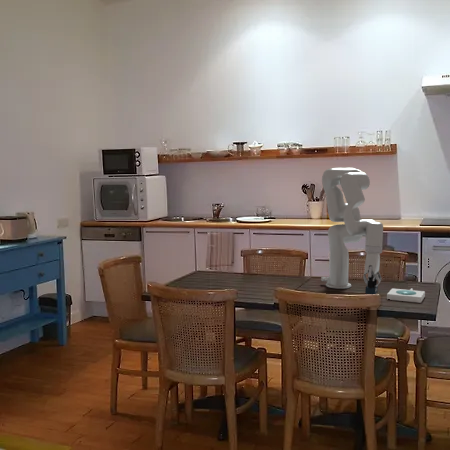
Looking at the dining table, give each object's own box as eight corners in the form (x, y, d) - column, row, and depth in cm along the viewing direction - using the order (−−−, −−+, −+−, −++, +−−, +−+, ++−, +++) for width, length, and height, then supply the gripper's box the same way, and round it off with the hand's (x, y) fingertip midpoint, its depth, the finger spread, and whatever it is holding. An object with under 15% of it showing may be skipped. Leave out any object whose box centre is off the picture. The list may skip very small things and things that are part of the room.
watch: (379, 295, 262) (380, 271, 260) (361, 293, 265) (362, 269, 264) (381, 292, 267) (383, 269, 265) (364, 290, 270) (365, 267, 269)
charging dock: (386, 299, 267) (387, 293, 267) (396, 288, 288) (396, 283, 288) (420, 302, 260) (421, 296, 260) (427, 291, 282) (428, 286, 281)
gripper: (369, 245, 272) (367, 283, 275) (361, 251, 257) (359, 291, 260) (385, 247, 269) (383, 285, 271) (378, 252, 254) (376, 293, 257)
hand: (371, 288), depth 266 cm, fingers closed on watch, 3 cm apart
